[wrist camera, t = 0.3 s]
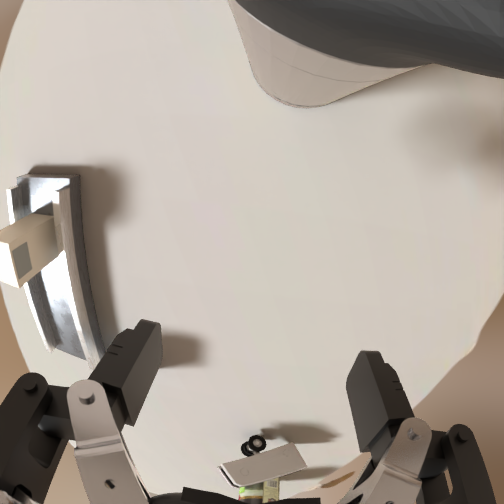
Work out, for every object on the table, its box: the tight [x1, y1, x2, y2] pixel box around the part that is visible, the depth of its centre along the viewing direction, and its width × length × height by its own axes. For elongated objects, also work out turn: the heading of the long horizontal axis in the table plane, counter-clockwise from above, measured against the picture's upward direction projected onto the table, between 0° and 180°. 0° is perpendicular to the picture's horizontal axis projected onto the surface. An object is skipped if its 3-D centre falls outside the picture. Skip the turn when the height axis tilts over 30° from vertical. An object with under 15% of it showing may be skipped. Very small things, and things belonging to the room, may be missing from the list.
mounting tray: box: [7, 174, 106, 370], centre depth 30 cm, size 28×10×4 cm, turn 172°
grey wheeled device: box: [217, 435, 307, 488], centre depth 39 cm, size 4×10×15 cm
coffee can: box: [239, 477, 280, 504], centre depth 48 cm, size 10×10×14 cm
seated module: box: [0, 213, 59, 288], centre depth 23 cm, size 5×5×8 cm
